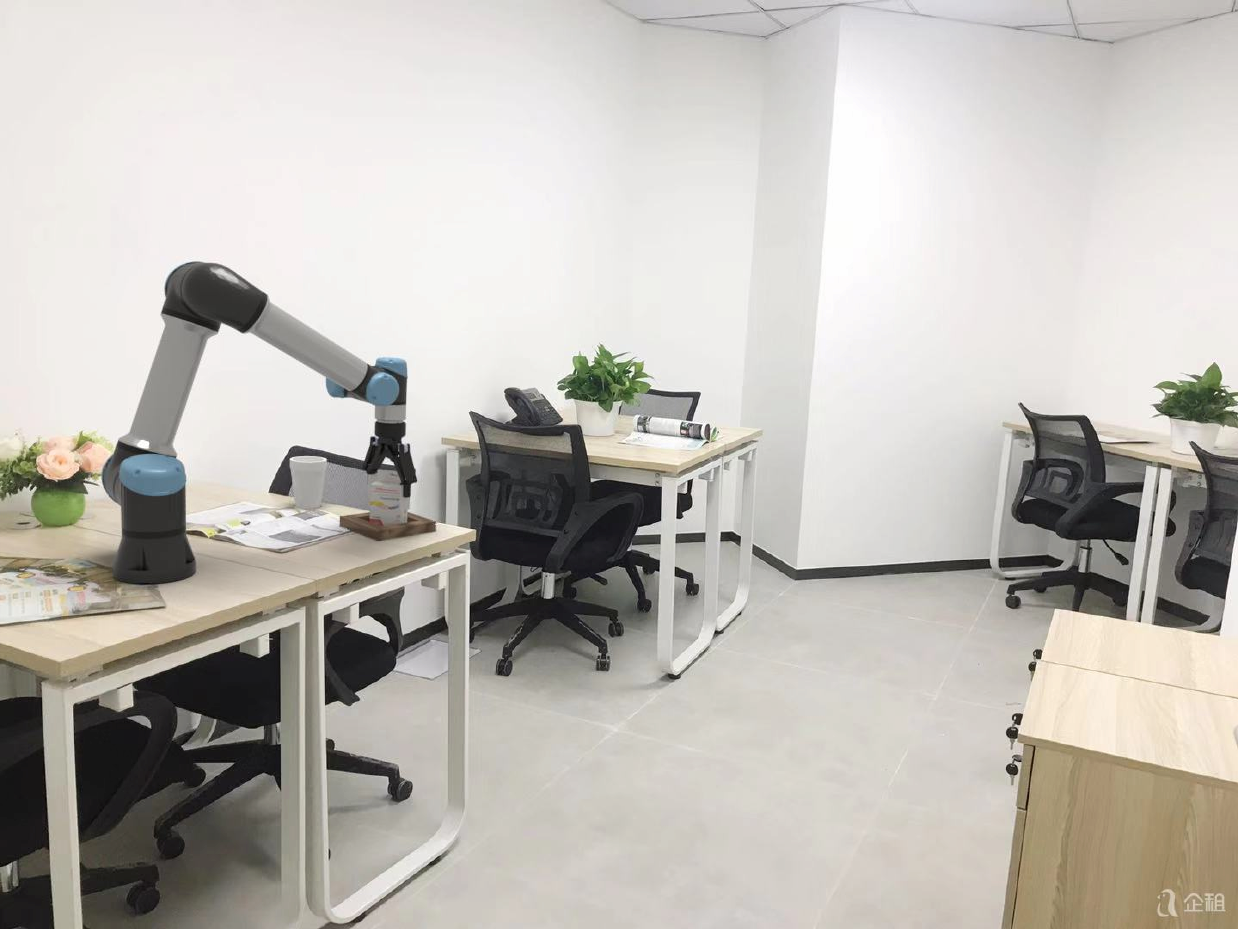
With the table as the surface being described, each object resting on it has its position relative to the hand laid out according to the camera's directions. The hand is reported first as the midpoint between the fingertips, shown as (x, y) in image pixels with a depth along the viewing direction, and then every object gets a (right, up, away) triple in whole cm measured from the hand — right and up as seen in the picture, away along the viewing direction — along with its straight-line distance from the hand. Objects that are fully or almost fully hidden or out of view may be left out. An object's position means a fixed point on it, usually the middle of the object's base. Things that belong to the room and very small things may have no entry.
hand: (388, 504), depth 235 cm
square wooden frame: (0, -6, +1) cm, 6 cm away
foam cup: (-26, -1, +18) cm, 32 cm away
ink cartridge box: (0, -6, +1) cm, 7 cm away
